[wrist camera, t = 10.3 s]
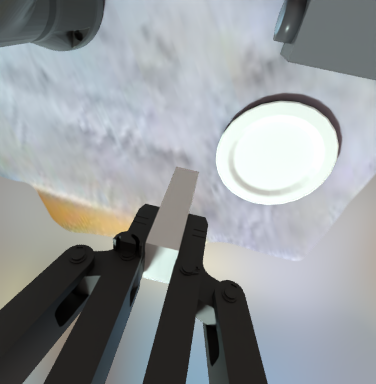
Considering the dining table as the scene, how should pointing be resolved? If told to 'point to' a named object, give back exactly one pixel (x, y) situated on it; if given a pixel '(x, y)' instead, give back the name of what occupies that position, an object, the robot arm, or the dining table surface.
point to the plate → (277, 152)
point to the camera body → (329, 35)
